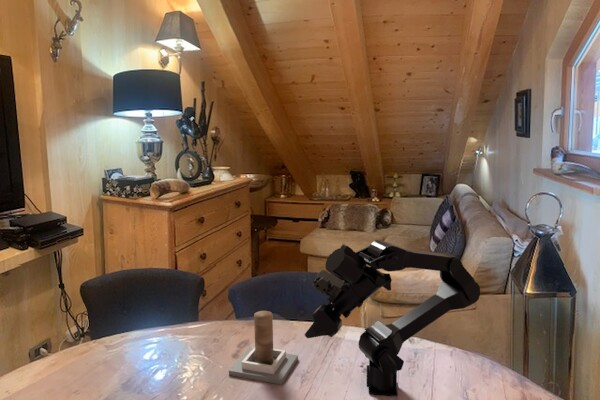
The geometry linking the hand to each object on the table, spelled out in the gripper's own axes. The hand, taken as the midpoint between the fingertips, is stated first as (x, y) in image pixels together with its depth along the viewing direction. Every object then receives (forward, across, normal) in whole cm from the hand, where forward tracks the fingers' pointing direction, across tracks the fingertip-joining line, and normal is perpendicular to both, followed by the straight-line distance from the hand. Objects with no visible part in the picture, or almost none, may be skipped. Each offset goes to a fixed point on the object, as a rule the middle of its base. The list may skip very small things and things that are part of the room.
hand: (312, 327), depth 106 cm
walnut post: (+18, -2, -1) cm, 18 cm away
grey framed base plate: (+19, -2, 0) cm, 19 cm away
